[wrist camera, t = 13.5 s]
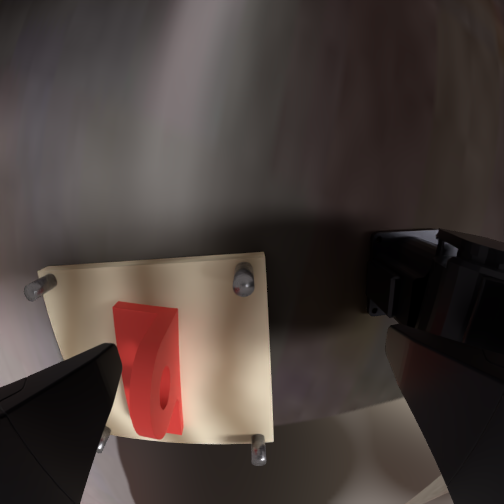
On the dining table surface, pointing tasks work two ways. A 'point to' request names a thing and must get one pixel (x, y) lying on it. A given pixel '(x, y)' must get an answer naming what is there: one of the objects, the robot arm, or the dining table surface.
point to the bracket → (150, 367)
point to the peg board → (180, 337)
